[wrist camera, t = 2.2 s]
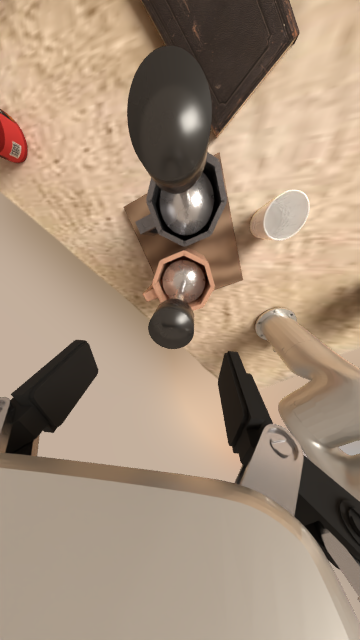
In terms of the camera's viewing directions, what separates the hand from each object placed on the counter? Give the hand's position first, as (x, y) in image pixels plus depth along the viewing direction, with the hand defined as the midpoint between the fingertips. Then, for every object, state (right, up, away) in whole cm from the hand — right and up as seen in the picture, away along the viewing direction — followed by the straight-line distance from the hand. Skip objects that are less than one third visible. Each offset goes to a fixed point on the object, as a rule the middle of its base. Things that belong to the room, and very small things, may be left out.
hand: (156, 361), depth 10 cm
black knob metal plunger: (+3, +11, +20) cm, 23 cm away
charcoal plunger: (+3, +22, +14) cm, 26 cm away
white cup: (+23, +27, +26) cm, 44 cm away
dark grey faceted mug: (+2, +28, +26) cm, 38 cm away
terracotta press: (+2, +17, +32) cm, 36 cm away
